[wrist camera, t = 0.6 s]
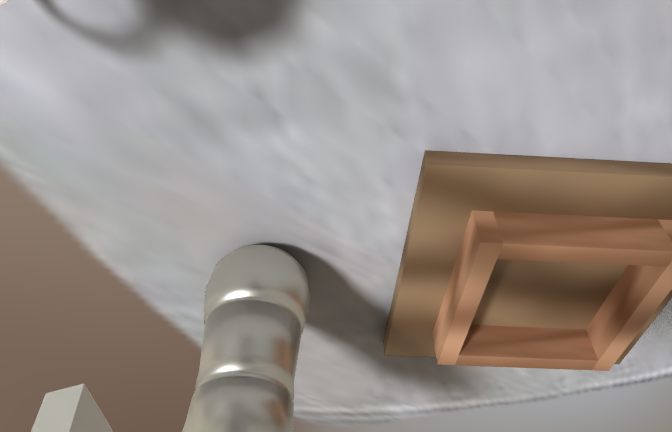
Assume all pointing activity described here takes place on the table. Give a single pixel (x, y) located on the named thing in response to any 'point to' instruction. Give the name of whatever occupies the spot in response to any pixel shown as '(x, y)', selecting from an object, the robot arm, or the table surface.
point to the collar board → (532, 261)
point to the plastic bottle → (250, 343)
